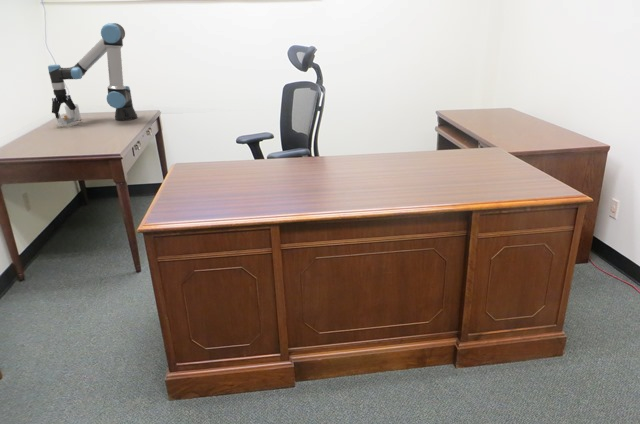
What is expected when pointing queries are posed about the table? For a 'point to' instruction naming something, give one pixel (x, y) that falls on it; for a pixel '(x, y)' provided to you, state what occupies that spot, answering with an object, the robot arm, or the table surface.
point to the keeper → (67, 124)
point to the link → (67, 120)
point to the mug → (76, 111)
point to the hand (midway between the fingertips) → (66, 121)
